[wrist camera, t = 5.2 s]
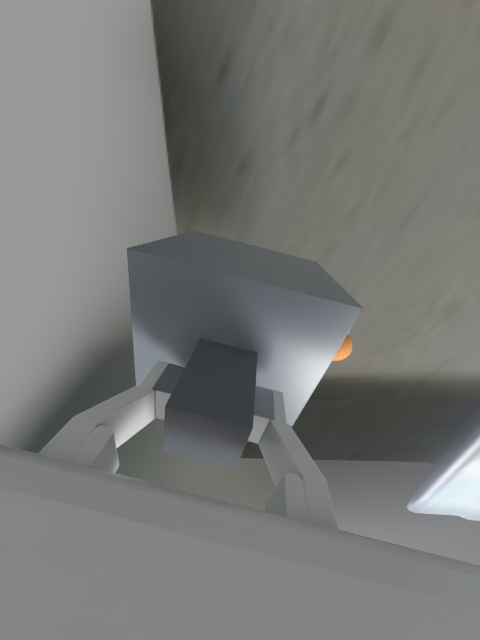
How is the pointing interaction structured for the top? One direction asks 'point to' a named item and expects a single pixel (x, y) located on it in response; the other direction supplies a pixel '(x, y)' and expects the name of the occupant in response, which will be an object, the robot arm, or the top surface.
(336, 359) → the ball
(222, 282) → the grey box with knob
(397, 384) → the top surface
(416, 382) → the top surface
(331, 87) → the top surface
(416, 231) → the top surface
